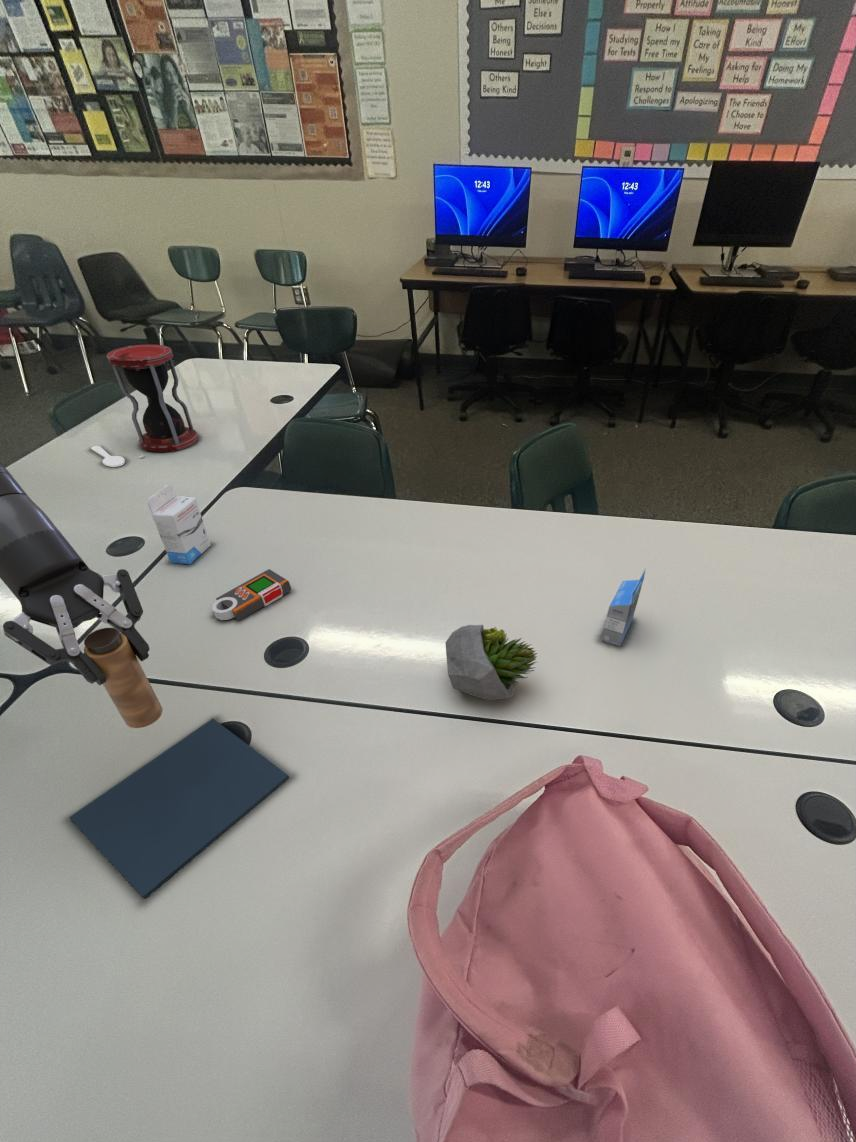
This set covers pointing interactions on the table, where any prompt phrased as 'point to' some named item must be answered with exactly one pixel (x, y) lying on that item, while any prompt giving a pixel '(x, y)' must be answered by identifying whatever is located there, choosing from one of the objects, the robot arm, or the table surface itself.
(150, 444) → the hourglass
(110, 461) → the spoon
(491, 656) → the potted plant
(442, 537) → the table surface
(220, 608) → the electronic device
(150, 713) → the pepper mill
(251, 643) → the table surface
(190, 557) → the ink box
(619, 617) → the label tape box
